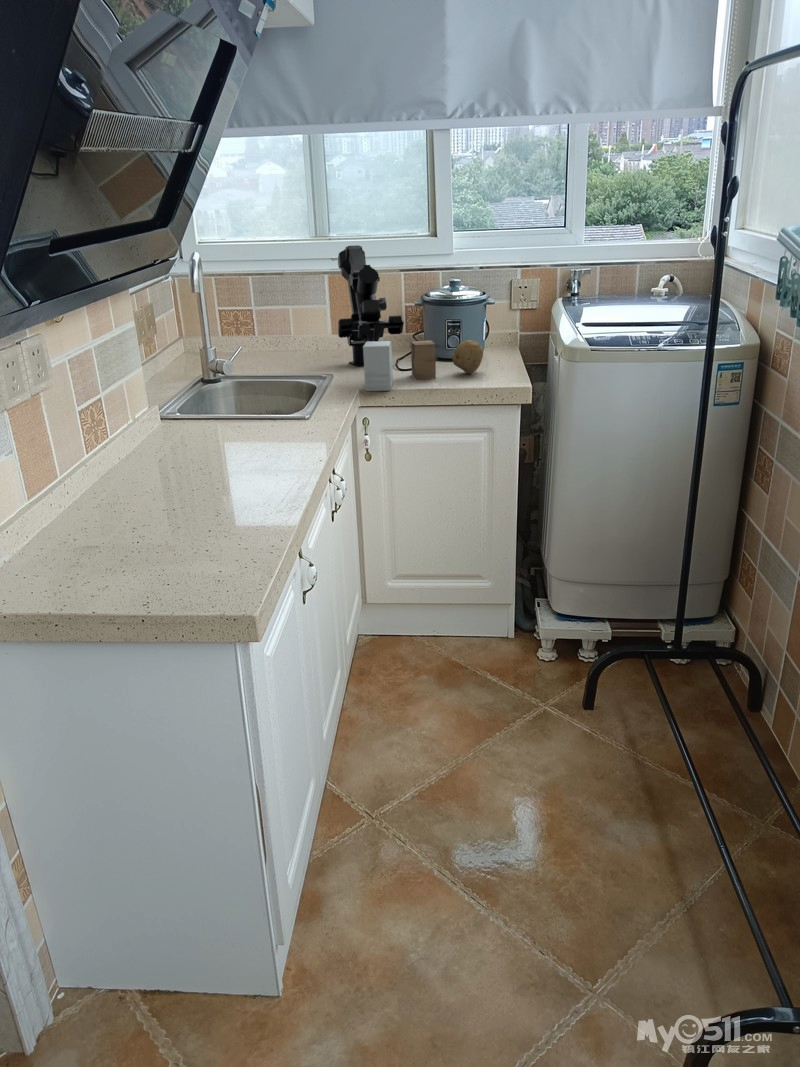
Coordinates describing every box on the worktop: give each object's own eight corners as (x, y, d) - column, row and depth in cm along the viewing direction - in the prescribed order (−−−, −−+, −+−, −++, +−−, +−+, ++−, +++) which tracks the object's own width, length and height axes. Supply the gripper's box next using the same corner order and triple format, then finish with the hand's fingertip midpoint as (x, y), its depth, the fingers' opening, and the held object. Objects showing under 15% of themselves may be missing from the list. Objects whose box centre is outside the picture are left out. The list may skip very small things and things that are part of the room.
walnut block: (411, 375, 250) (411, 341, 246) (431, 373, 251) (430, 340, 247) (415, 379, 245) (415, 345, 241) (435, 378, 246) (435, 344, 242)
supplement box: (393, 385, 239) (392, 340, 234) (390, 391, 232) (389, 345, 227) (368, 385, 240) (366, 340, 235) (364, 391, 233) (362, 345, 228)
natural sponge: (451, 377, 246) (451, 343, 242) (453, 370, 254) (453, 337, 250) (482, 377, 245) (483, 343, 241) (483, 370, 253) (483, 337, 249)
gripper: (336, 289, 235) (343, 336, 229) (401, 286, 238) (410, 332, 232) (335, 314, 245) (341, 359, 240) (397, 310, 248) (405, 355, 242)
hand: (374, 350), depth 238 cm, fingers closed
